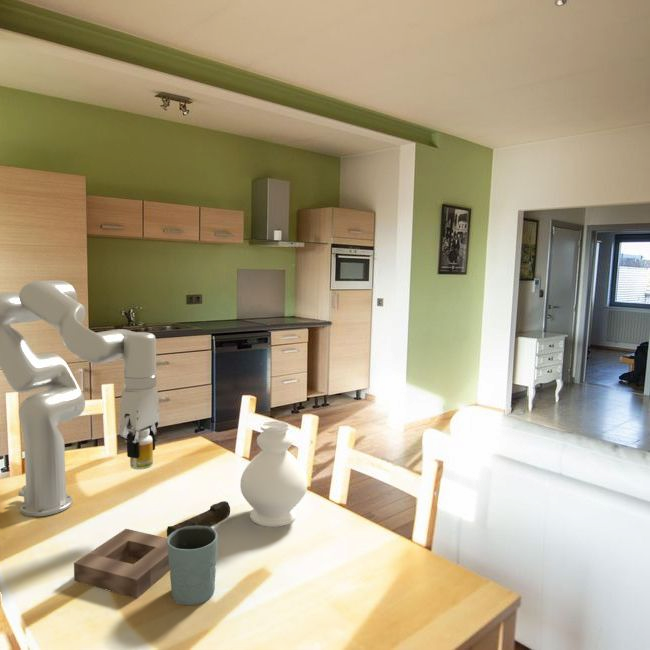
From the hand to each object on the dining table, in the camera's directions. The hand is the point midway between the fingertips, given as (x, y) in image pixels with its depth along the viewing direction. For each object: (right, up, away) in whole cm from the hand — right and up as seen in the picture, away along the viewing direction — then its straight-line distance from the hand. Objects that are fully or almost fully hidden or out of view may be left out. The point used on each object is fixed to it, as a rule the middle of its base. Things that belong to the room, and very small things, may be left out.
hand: (141, 452), depth 136 cm
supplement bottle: (0, -4, 0) cm, 4 cm away
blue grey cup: (+19, -23, -25) cm, 39 cm away
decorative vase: (+32, -19, +10) cm, 39 cm away
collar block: (+4, -22, -17) cm, 28 cm away
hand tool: (+14, -20, +3) cm, 25 cm away
